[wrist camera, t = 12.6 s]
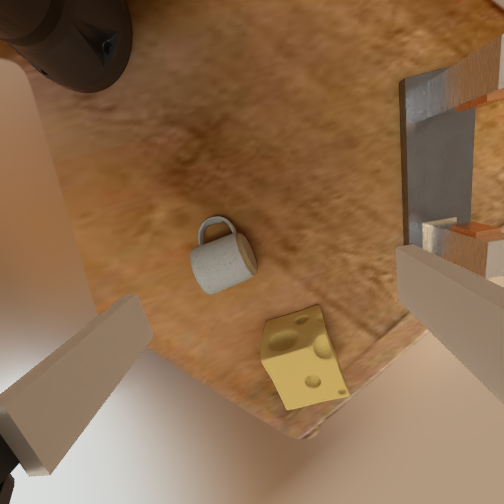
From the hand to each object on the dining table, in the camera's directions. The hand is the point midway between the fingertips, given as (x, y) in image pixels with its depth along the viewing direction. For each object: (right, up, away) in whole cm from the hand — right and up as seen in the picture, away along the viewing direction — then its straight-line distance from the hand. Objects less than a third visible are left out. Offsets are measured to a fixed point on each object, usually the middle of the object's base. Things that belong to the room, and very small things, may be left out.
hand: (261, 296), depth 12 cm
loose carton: (+26, +5, +22) cm, 35 cm away
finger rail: (+25, +13, +21) cm, 35 cm away
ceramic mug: (-5, +3, +27) cm, 28 cm away
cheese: (+8, -13, +31) cm, 35 cm away
